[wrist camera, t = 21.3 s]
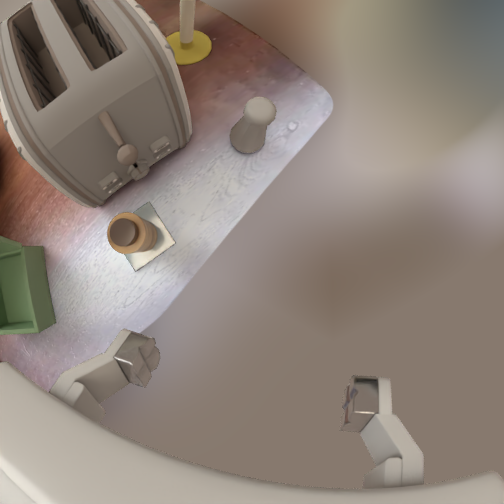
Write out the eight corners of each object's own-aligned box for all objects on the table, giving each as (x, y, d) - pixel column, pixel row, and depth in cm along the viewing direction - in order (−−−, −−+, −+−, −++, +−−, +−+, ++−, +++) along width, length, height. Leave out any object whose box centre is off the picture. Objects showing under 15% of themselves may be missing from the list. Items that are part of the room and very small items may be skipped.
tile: (176, 243, 44) (175, 243, 44) (136, 271, 43) (135, 271, 43) (149, 201, 44) (149, 201, 43) (110, 230, 42) (109, 230, 42)
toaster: (102, 232, 42) (33, 221, 20) (24, 70, 36) (-20, 17, 14) (208, 156, 45) (222, 86, 23) (104, 16, 39) (85, -53, 17)
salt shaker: (268, 145, 47) (292, 114, 34) (242, 163, 46) (259, 135, 34) (247, 120, 46) (265, 83, 34) (221, 137, 45) (231, 101, 33)
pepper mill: (163, 240, 44) (150, 238, 31) (138, 258, 43) (116, 262, 30) (146, 214, 43) (128, 201, 30) (121, 232, 42) (94, 226, 29)
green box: (56, 322, 40) (39, 333, 34) (9, 326, 38) (-10, 334, 31) (43, 245, 40) (23, 246, 33) (-4, 255, 37) (-24, 257, 31)
